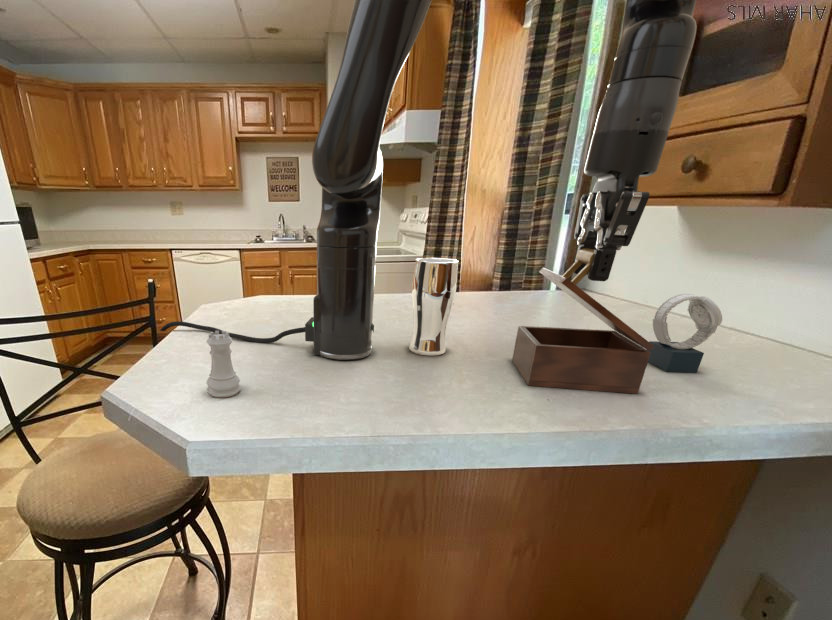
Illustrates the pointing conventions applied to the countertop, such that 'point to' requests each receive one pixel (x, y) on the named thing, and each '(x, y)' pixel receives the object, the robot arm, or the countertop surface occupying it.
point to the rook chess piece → (221, 367)
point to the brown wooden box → (579, 359)
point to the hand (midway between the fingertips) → (588, 276)
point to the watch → (682, 353)
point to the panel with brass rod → (587, 301)
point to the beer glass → (432, 303)
